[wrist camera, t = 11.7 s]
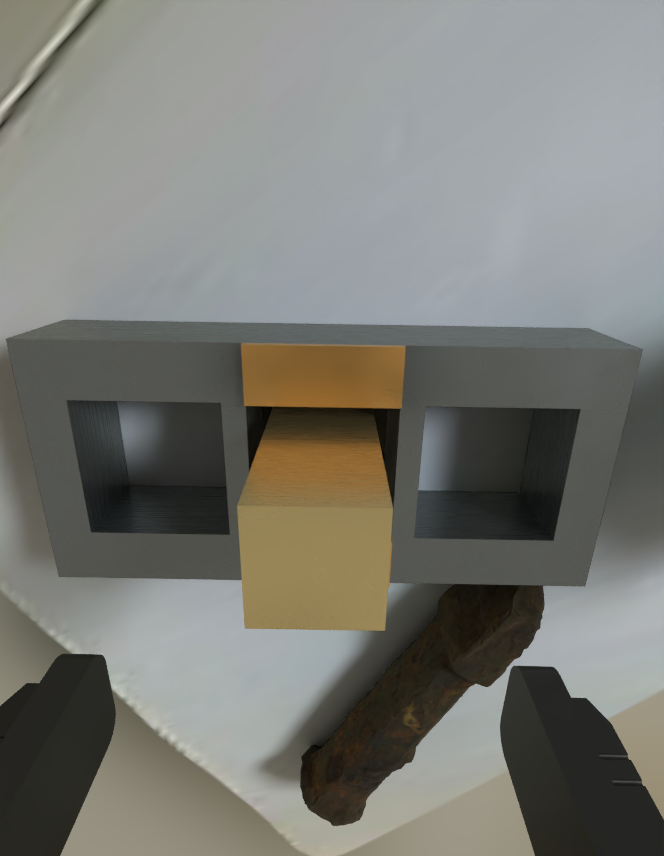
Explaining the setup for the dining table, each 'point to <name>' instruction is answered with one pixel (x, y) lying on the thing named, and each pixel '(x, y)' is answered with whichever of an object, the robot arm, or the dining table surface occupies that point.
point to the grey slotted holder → (324, 387)
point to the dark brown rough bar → (420, 693)
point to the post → (316, 523)
